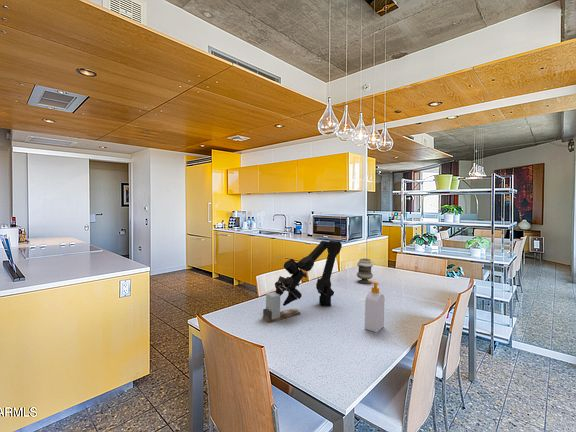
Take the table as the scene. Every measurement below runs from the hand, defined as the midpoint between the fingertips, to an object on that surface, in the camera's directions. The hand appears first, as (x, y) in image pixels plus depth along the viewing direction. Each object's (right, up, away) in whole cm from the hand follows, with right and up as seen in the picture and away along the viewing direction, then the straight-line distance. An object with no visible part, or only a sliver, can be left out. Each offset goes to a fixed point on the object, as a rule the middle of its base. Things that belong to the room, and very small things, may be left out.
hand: (278, 302), depth 153 cm
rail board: (+2, -8, +2) cm, 8 cm away
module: (-3, -7, -2) cm, 8 cm away
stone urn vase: (+65, -5, +70) cm, 95 cm away
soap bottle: (+47, -9, -11) cm, 50 cm away
